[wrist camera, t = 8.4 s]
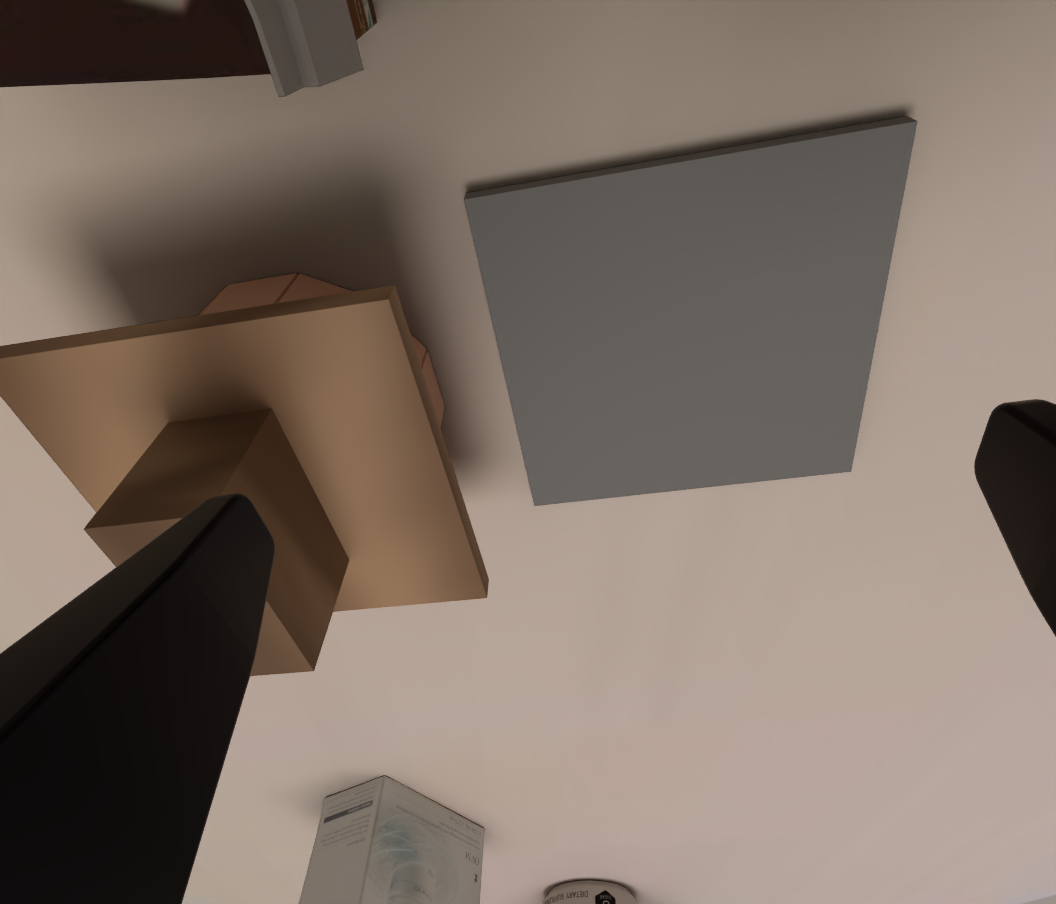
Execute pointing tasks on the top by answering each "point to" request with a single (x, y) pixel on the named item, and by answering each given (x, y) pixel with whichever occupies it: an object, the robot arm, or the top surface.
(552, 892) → the supplement can
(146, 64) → the food container
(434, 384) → the terracotta bowl
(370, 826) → the skincare box
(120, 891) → the robot arm
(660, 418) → the rubber mat
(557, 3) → the top surface
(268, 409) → the walnut lid
